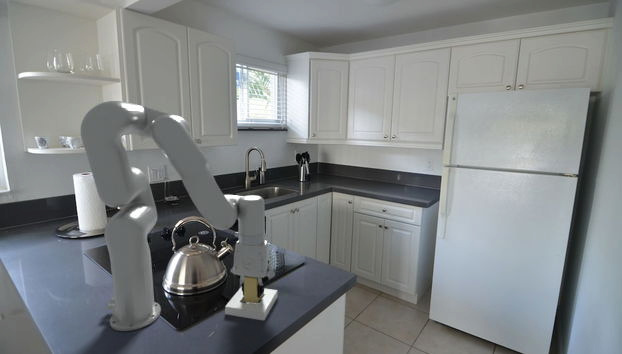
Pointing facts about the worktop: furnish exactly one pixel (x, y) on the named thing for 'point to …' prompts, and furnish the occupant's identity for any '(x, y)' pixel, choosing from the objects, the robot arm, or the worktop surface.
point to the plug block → (250, 289)
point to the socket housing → (251, 305)
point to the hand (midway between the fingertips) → (253, 293)
